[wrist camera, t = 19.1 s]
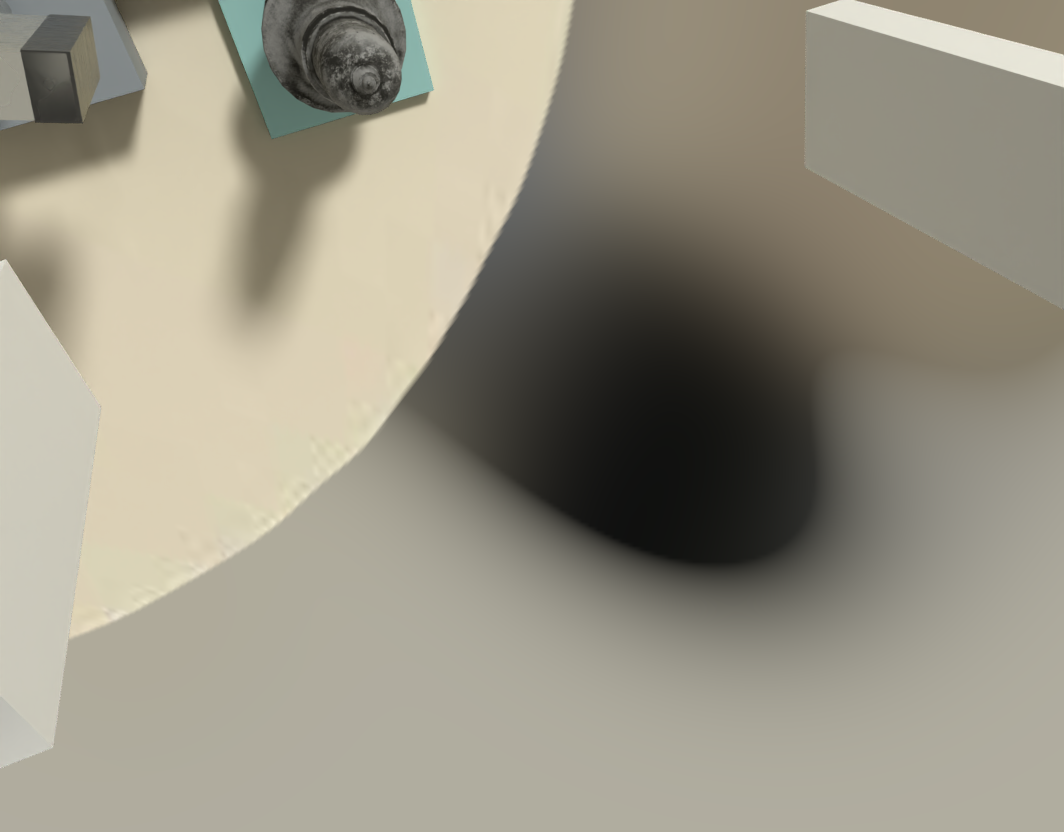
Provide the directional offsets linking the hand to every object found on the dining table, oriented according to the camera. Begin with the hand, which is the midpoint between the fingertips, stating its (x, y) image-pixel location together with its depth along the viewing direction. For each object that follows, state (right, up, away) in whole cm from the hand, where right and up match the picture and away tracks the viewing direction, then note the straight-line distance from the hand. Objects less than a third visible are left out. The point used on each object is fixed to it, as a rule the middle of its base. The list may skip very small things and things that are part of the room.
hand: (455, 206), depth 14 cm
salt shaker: (-8, +14, +24) cm, 29 cm away
